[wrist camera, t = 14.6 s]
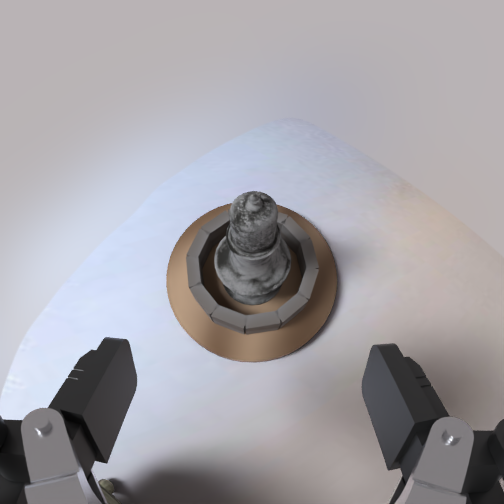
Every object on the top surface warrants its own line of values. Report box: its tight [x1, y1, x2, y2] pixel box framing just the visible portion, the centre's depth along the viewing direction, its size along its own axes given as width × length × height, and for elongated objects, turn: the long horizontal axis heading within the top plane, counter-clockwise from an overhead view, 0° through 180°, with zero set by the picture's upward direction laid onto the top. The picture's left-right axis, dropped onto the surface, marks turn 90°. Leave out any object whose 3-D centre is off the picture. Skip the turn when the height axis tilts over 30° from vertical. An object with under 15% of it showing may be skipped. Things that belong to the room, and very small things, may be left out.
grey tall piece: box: [214, 191, 291, 305], centre depth 23 cm, size 6×6×12 cm
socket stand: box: [167, 203, 337, 362], centre depth 28 cm, size 15×15×4 cm
